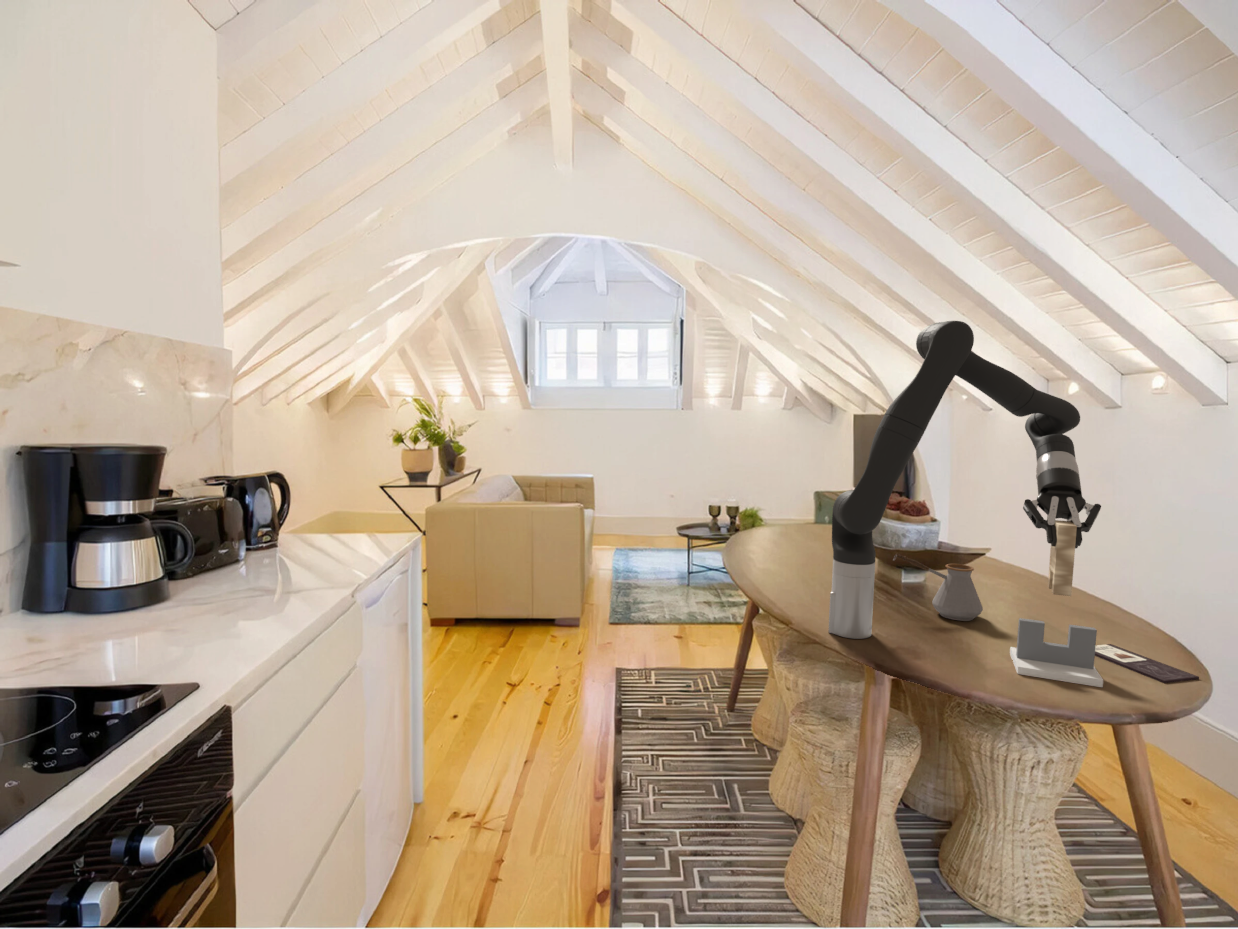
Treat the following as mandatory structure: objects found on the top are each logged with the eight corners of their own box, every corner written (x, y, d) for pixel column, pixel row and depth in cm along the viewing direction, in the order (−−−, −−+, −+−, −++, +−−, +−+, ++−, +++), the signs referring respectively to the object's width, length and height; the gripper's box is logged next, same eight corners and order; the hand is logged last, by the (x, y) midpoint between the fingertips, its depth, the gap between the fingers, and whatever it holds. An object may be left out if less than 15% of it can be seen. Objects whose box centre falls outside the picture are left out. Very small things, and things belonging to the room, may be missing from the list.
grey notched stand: (1017, 673, 130) (1020, 627, 129) (1009, 653, 141) (1012, 610, 140) (1102, 687, 124) (1106, 639, 123) (1087, 665, 135) (1091, 620, 134)
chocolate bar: (1164, 680, 126) (1078, 647, 144) (1163, 685, 126) (1078, 651, 144) (1199, 676, 128) (1110, 644, 146) (1198, 681, 129) (1110, 648, 146)
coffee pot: (977, 612, 169) (980, 555, 168) (986, 626, 158) (990, 565, 157) (888, 603, 176) (891, 548, 174) (892, 615, 165) (895, 557, 164)
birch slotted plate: (1053, 594, 129) (1058, 524, 127) (1047, 586, 134) (1052, 520, 133) (1071, 596, 127) (1076, 526, 126) (1064, 588, 133) (1070, 521, 132)
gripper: (1022, 464, 138) (1026, 531, 128) (1102, 468, 132) (1113, 538, 122) (1016, 486, 143) (1020, 552, 134) (1093, 490, 138) (1103, 559, 128)
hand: (1065, 544), depth 128 cm, fingers closed on birch slotted plate, 3 cm apart
